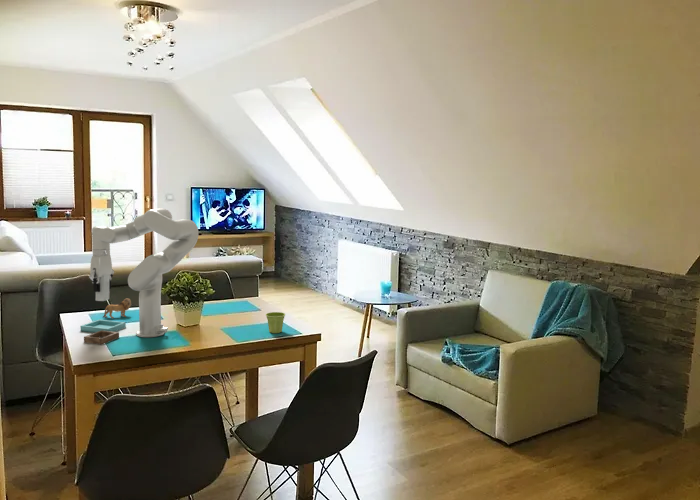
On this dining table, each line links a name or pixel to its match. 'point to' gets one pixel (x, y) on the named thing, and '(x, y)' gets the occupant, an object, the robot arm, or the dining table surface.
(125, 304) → the lion figurine
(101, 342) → the holder collar
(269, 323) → the plant pot
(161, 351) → the dining table surface
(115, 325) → the tray
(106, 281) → the skincare box
